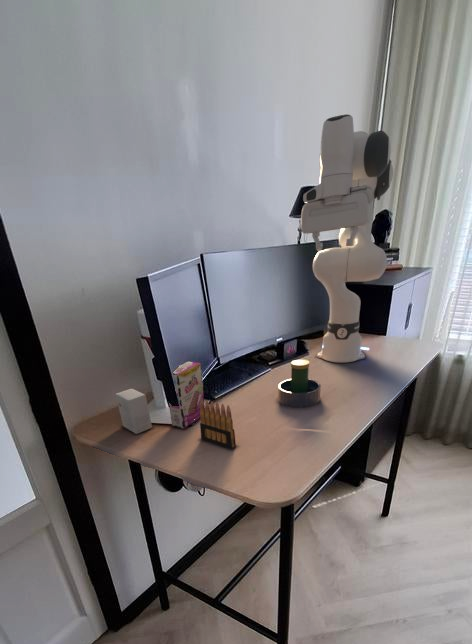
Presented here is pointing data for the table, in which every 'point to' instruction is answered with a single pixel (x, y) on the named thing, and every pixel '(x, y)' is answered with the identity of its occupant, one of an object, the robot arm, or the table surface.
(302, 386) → the tea tin
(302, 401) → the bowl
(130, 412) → the small box
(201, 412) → the ammunition clip
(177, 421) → the candy bar box
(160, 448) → the table surface
